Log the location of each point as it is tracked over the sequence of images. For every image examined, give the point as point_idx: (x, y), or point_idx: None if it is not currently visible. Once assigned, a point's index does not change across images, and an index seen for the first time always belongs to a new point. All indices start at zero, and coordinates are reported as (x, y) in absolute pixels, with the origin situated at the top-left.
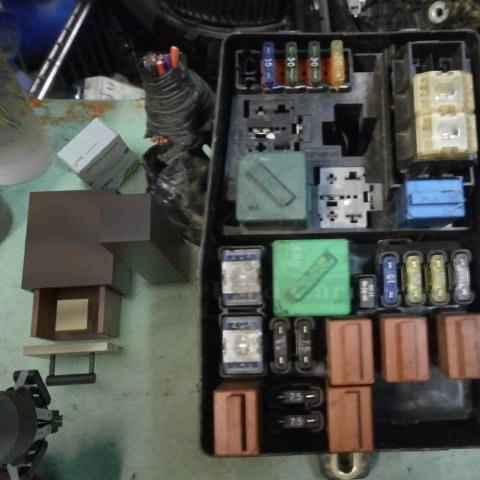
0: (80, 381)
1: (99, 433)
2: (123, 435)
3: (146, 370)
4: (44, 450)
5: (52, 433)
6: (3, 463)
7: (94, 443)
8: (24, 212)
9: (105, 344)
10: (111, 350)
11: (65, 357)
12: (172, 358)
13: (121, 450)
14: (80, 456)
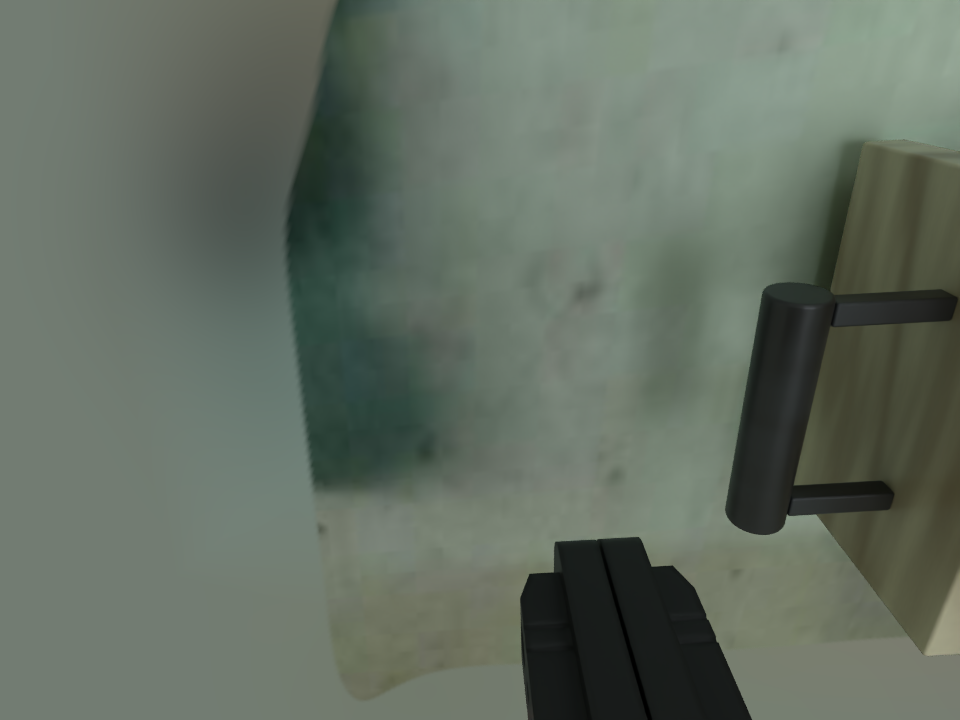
0: (760, 481)
1: (466, 402)
2: (457, 484)
3: (695, 534)
4: None
5: (528, 717)
6: None
7: (425, 387)
8: None
9: (958, 649)
10: (883, 599)
11: (847, 255)
12: (722, 602)
13: (401, 482)
14: (369, 339)
